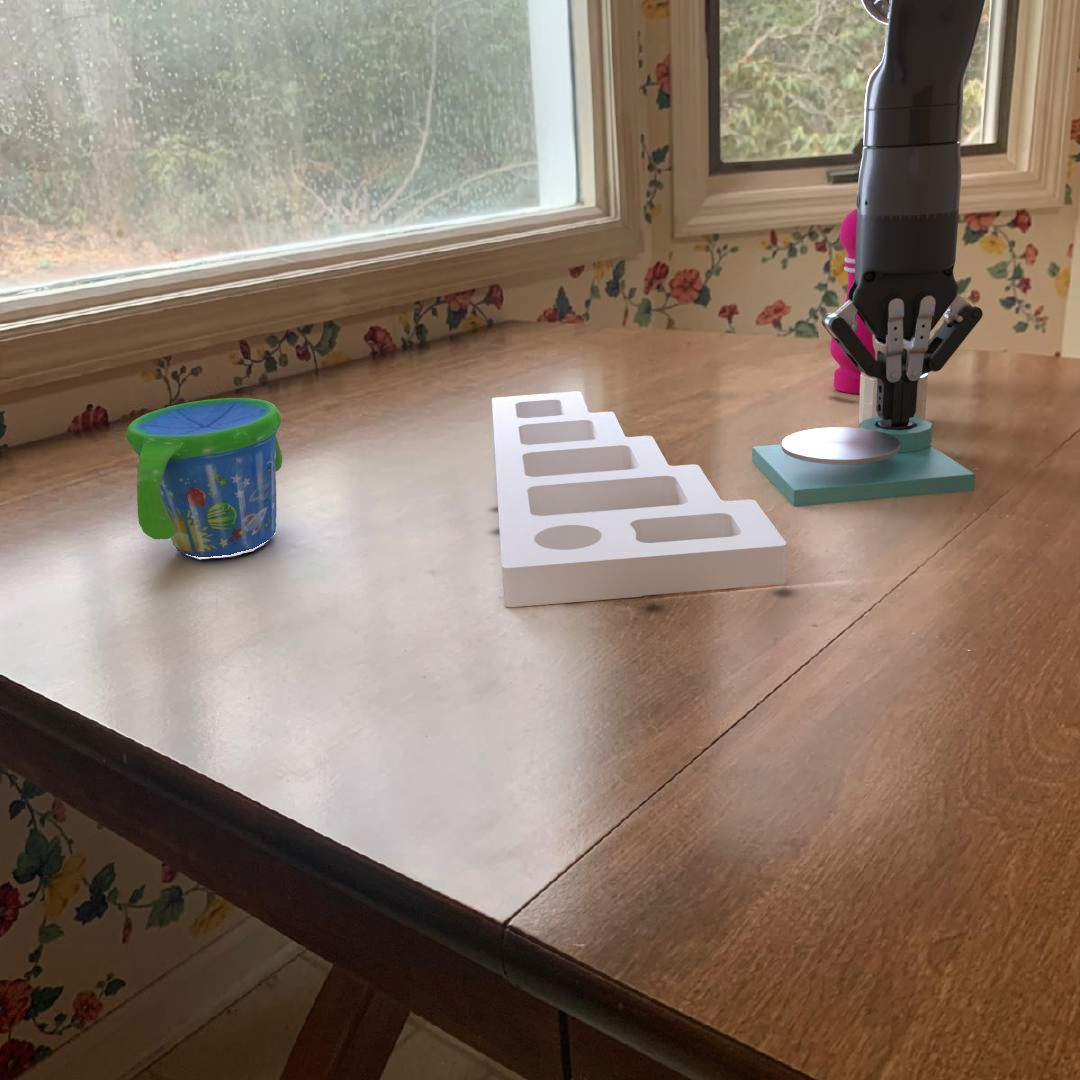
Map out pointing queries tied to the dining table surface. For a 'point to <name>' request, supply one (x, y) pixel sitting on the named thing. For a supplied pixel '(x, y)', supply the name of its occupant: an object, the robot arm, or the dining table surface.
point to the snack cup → (208, 474)
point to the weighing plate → (840, 445)
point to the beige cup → (870, 397)
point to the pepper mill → (848, 373)
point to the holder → (613, 512)
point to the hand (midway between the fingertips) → (895, 423)
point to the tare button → (902, 427)
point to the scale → (867, 471)
